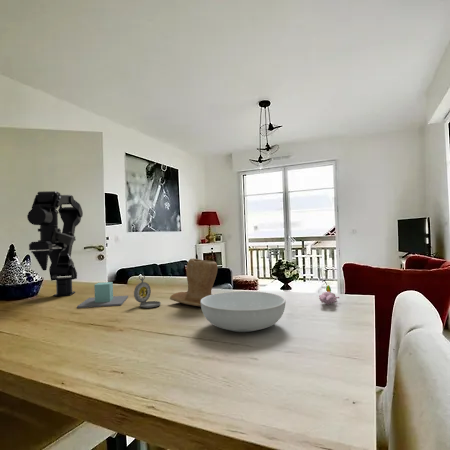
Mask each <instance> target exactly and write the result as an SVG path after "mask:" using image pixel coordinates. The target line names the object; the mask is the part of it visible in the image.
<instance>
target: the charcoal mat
mask: <svg viewBox="0 0 450 450" xmlns="http://www.w3.org/2000/svg"><path fill="white" fill-rule="evenodd" d="M128 298H129V295H113V299H112V300H111V301H110V302H95V296H94V297H88V298H86V299H85V300H84V301H83V302H81V303H80V304H78V305H77V306H76V309H82V308H84V309H85V308H87V307H88V308H99V307H101V306H104V307H115V306H117V307H119V306H122V305H123V304H124V303H125V302H126V300H127V299H128ZM88 308H87V309H88Z"/></svg>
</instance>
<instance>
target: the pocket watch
mask: <svg viewBox="0 0 450 450" xmlns="http://www.w3.org/2000/svg"><path fill="white" fill-rule="evenodd" d="M141 276H142V277H141ZM145 278H146V276H145V275H144V274H141V275H139V276H138V280H139V281H141V282H139V283H138V284H137V285H136V286H135V287H134V291H133V297H134V299H135V300H136V302H138V303H139V307H140V308H144V309H145V308H146V309H150V308H156V307H158V306H161V302H160V301H158V300H150V301H148V300H149V298H150V296H151V292H152V289H151V286H150V285H149V283H148V282H145Z"/></svg>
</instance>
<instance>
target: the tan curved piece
mask: <svg viewBox="0 0 450 450" xmlns="http://www.w3.org/2000/svg"><path fill="white" fill-rule="evenodd" d="M218 269H219V267H218V264H217V262H216V261H213V260H206V259H205V260H204V259H199V258H190V259H189V260H187V264H186V280H187V291H179V292H176V293H173V294H172V295H170V297H169V300H171V301H174V302H177V303H180V304H183V305H188V306H194V307H201V303H200V301H201V299H202V298H204V297H206V296H209V295H212V289H213V287H214V283H215V280H216V277H217V274H218Z"/></svg>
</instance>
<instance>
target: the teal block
mask: <svg viewBox="0 0 450 450" xmlns="http://www.w3.org/2000/svg"><path fill="white" fill-rule="evenodd" d="M113 284H114V283H113V281H105V282H97V283H95V284H94V285H93V286H94V297H95V302H110V301H111V300H112V299H113V296H114V285H113Z"/></svg>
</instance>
